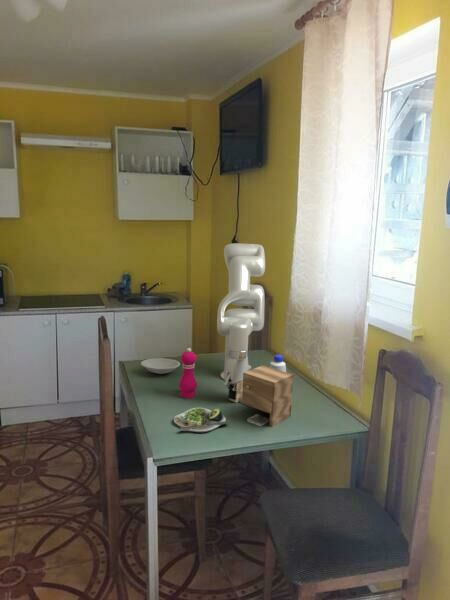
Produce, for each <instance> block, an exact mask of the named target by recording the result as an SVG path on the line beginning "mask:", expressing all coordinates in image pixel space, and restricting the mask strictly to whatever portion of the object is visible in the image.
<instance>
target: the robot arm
mask: <svg viewBox="0 0 450 600" xmlns="http://www.w3.org/2000/svg"><path fill="white" fill-rule="evenodd" d="M223 257H224V261H225V264H226V267H227V270H228V293H227V294H226V295H225V296H224V298H223V299H222V300H221V301H220V303H219V306H218V309H217V315H216V316H217V319H216V320H217V322H216V329H217V333H218V334H219V335H220V336H225V344H224V347H225V348H224V368H223V371H222V372H221V373H220V378H221V379H222V380H223V381H224V384H223V385H224V386H225V387H226V388H227V389H228V399H229V398H230V399H233V400H236V390H235V387H236V383H237V382H240V381H243V373H244V372H247V371H249V370H252V366H251V365H250V364H249V357H248V350H249V348H248V347H249V335H251V333H252V332H254V331H255V332H258V331H262V329H264V325H265V302H266V301H265V290H264V287H263V286H262V285H260V284H251V277H263V276H264V274H265V270H266V255H265V249H264V247H263V245H262V244H256V243H240V242H239V243H229V244H226V245H225V246H224V248H223ZM228 305H232V306H242V307H243V306H244V307H245V306H246V307H253V308H254V309H253V308H237V307H235V308H230V309H227V310H226V308H227V307H228ZM231 384H233V386H232V385H231Z"/></svg>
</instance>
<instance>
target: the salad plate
mask: <svg viewBox="0 0 450 600" xmlns="http://www.w3.org/2000/svg"><path fill="white" fill-rule="evenodd" d="M184 419H186V420H187V424H186V423H183V421H184ZM230 422H231V421H230V420H227V418H226V417H225V415H223V413H222V410H221V409H220V408H217V407H216V408H214V409H212V410H211V409H210V408H209V409H208V408H206V407H193V408H192V407H191V408H190V409H187V410H186V411H183V412H182V413H180V414H177V415H175V416H174V418H173V423H174V424H175V425H176V426H178V428H179V430H180V431H182V432H185V431H186V432H192V433H207V432H211V431H213V430H216V429H218V428H220V427H222V426H224V425H226V424H227V425H228V424H229V423H230Z"/></svg>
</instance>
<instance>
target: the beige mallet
mask: <svg viewBox="0 0 450 600" xmlns="http://www.w3.org/2000/svg"><path fill="white" fill-rule="evenodd" d="M231 385H232V386H233V384H231ZM235 390H236V400H233V399H230V398H229V397H228V401H231V402H234V403H236V404H237V403H241V404H242V392H243V381H240V382H237V383H236V387H235Z"/></svg>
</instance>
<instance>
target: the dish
mask: <svg viewBox="0 0 450 600" xmlns="http://www.w3.org/2000/svg"><path fill="white" fill-rule="evenodd" d="M140 365H141V366H143V368H145V369H146V370H147V371H149V372H151V373H154V374H158V375H163V374H169V373H171V372H173V371H174V370H176V369H177V368H178V367H180V365H181V363H180V362H179V361H178V360H175V359H172V358H164V357H161V358H160V357H158V358H157V357H156V358H154V357H153V358H146V359H144V360H142V361H141V362H140Z"/></svg>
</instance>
